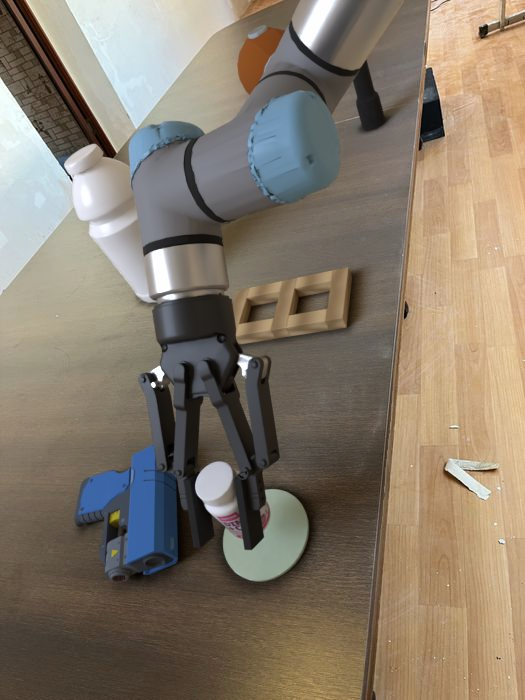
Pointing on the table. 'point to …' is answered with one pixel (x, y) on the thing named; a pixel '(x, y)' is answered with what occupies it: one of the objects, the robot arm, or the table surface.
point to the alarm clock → (257, 55)
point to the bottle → (109, 212)
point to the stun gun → (132, 517)
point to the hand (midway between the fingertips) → (228, 542)
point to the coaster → (271, 541)
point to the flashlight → (368, 100)
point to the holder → (293, 306)
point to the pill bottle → (224, 496)
